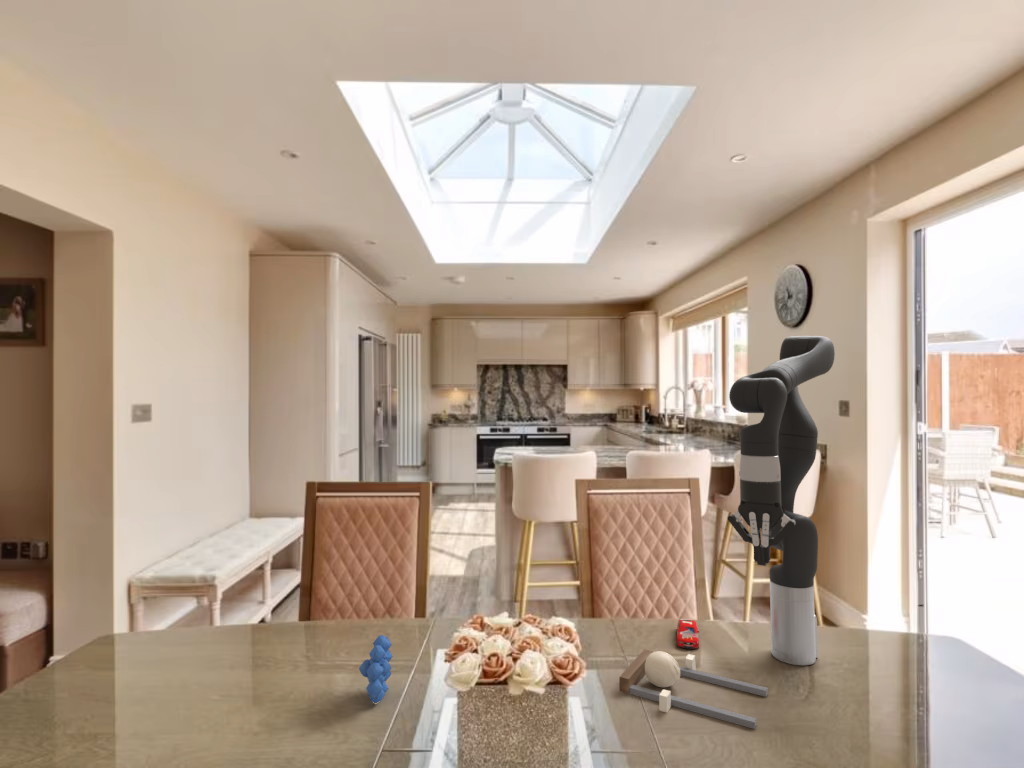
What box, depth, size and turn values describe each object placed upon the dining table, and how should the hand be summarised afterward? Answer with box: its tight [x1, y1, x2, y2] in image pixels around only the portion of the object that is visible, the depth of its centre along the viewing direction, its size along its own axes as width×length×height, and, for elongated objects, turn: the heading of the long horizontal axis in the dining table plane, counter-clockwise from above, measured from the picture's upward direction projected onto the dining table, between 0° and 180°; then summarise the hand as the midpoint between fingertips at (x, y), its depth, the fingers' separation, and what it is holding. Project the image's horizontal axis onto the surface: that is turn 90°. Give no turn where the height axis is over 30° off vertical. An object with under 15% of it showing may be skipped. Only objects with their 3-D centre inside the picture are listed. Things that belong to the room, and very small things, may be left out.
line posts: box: [658, 653, 697, 714], centre depth 118 cm, size 2×20×3 cm, turn 147°
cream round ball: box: [645, 650, 681, 689], centre depth 120 cm, size 7×7×7 cm
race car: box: [675, 618, 700, 650], centre depth 142 cm, size 13×5×4 cm, turn 162°
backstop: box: [619, 648, 654, 695], centre depth 123 cm, size 2×15×3 cm, turn 147°
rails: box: [628, 665, 769, 730], centre depth 116 cm, size 24×14×1 cm, turn 57°
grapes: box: [358, 634, 394, 704], centre depth 116 cm, size 12×7×12 cm, turn 179°
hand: (762, 564), depth 113 cm, fingers closed
